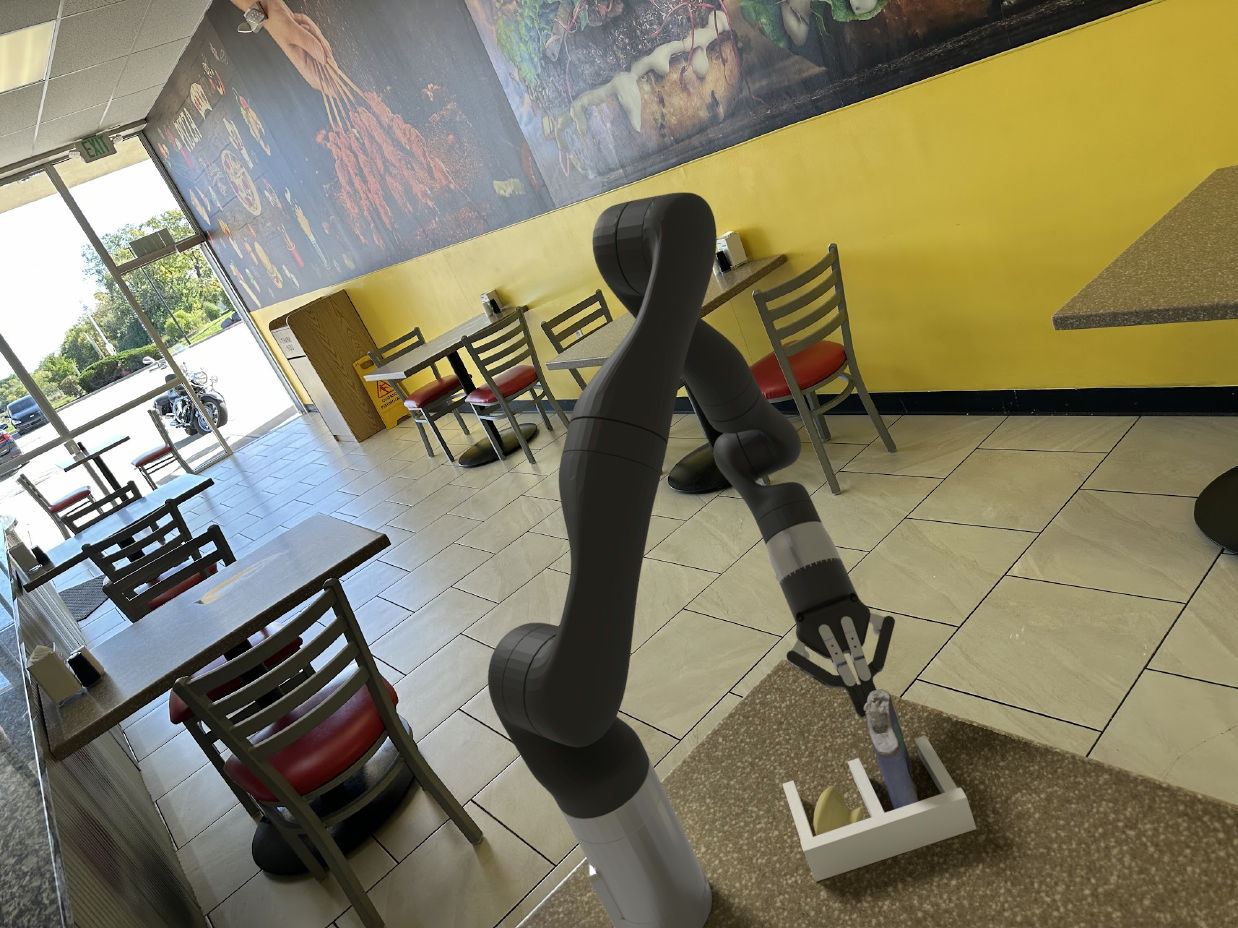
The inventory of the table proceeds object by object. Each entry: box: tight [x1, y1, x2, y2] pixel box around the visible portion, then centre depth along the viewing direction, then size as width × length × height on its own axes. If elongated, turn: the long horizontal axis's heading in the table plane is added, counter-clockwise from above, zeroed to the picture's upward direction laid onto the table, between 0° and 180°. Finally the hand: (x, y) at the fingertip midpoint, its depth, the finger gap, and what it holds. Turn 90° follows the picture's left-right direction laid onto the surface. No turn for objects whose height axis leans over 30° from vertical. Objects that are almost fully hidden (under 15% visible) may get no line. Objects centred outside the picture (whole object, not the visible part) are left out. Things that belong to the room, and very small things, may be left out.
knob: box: [813, 785, 865, 836], centre depth 77 cm, size 5×5×5 cm
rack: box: [782, 735, 977, 883], centre depth 78 cm, size 16×10×4 cm, turn 92°
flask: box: [864, 688, 920, 810], centre depth 79 cm, size 9×3×11 cm, turn 169°
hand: (874, 719), depth 83 cm, fingers closed
